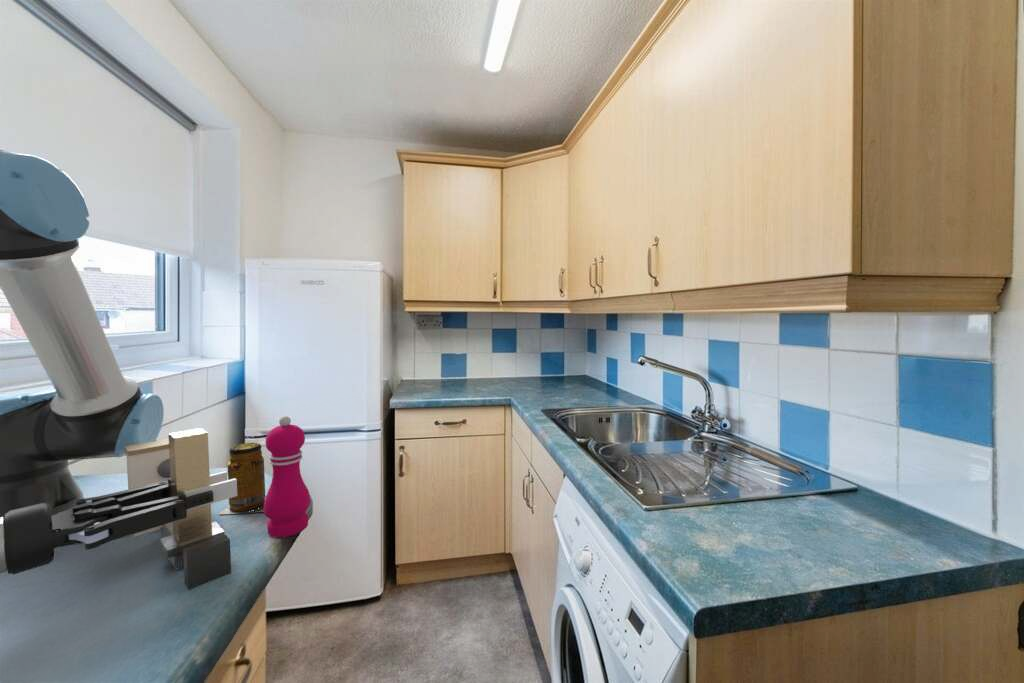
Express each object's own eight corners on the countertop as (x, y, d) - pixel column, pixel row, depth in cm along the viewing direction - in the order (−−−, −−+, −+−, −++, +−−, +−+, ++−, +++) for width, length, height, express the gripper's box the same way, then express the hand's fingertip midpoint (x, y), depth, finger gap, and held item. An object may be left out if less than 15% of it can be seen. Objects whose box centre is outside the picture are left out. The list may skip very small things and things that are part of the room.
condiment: (239, 498, 84) (237, 441, 83) (282, 496, 85) (281, 440, 84) (217, 515, 77) (215, 452, 76) (265, 513, 77) (263, 451, 77)
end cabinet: (128, 529, 72) (124, 446, 71) (201, 508, 79) (198, 433, 79) (133, 538, 68) (128, 452, 68) (208, 515, 76) (204, 438, 76)
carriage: (160, 559, 62) (154, 434, 61) (216, 540, 67) (211, 425, 66) (168, 572, 59) (161, 441, 58) (225, 551, 64) (220, 431, 63)
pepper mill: (320, 520, 74) (317, 412, 73) (290, 541, 67) (286, 422, 66) (286, 516, 76) (283, 410, 75) (254, 536, 69) (249, 420, 68)
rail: (153, 531, 71) (152, 503, 71) (189, 520, 75) (188, 493, 74) (188, 590, 55) (186, 554, 55) (231, 572, 59) (229, 539, 59)
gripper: (6, 548, 54) (216, 491, 72) (3, 607, 44) (251, 522, 61) (2, 493, 54) (214, 449, 72) (-3, 539, 43) (249, 473, 61)
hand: (230, 483), depth 67 cm, fingers closed on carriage, 4 cm apart
